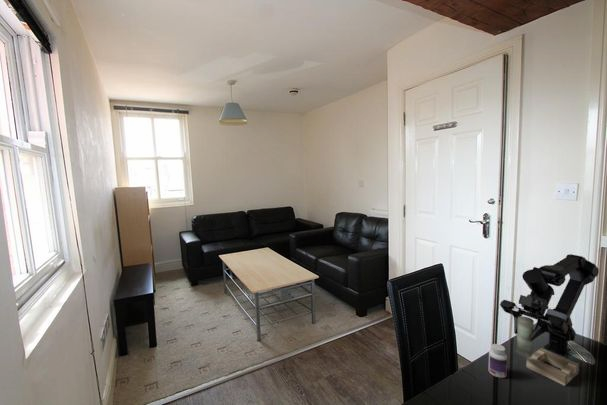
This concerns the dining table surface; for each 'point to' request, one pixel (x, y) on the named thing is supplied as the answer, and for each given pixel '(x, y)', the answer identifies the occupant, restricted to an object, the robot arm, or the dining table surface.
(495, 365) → the pill bottle
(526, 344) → the peg
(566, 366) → the holder
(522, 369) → the dining table surface
